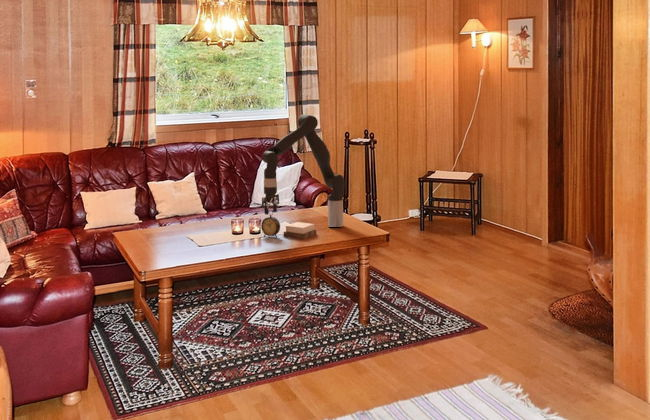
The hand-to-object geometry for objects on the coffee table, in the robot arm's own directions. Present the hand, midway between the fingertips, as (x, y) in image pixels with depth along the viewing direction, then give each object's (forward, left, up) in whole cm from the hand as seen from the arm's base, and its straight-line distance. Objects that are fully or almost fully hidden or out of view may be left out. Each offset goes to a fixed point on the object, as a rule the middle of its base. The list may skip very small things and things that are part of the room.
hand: (270, 213), depth 416 cm
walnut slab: (-11, +13, -15) cm, 23 cm away
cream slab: (-11, +13, -11) cm, 21 cm away
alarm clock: (0, 0, -15) cm, 15 cm away
